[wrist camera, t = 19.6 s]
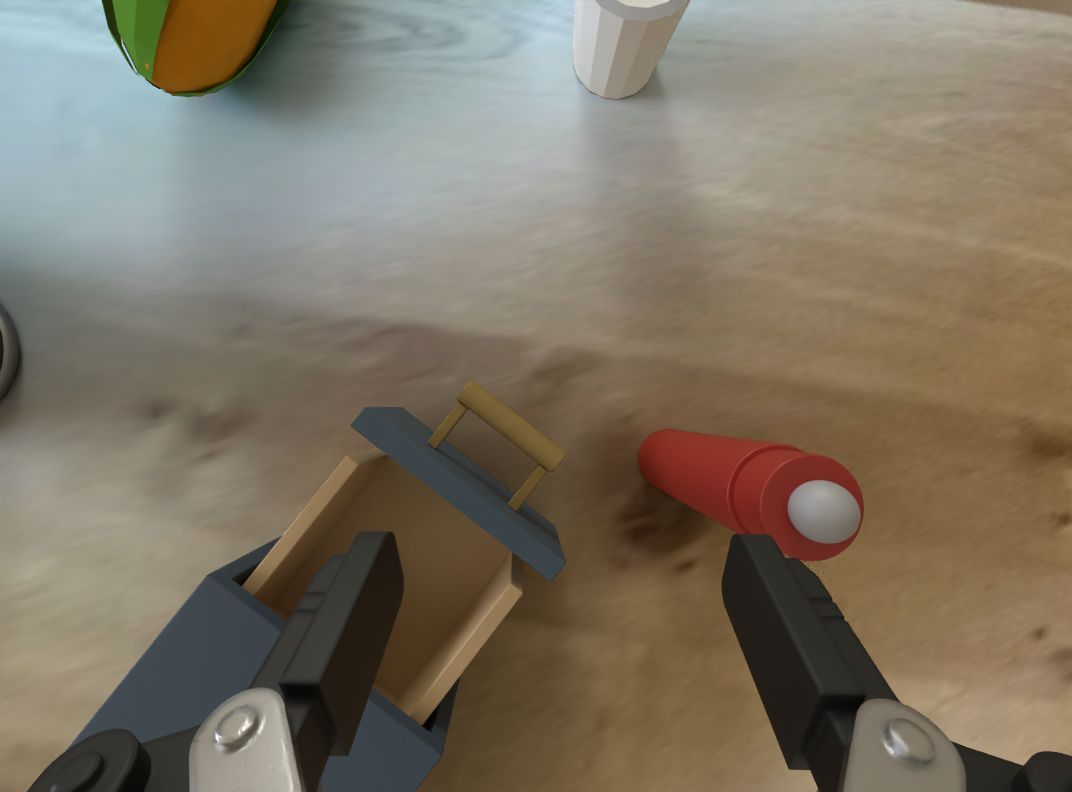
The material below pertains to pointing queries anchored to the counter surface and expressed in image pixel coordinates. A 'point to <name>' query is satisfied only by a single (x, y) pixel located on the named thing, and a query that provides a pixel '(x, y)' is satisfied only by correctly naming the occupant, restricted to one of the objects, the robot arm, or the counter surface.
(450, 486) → the drawer
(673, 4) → the white faceted cylinder
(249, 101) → the counter surface
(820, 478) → the pepper mill
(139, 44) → the corn
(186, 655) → the cabinet
